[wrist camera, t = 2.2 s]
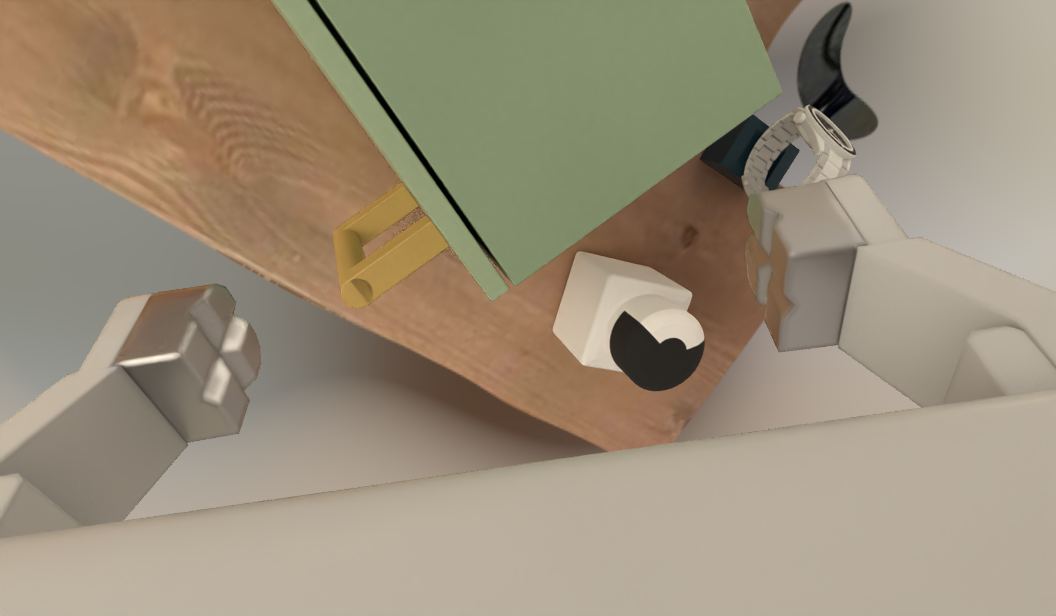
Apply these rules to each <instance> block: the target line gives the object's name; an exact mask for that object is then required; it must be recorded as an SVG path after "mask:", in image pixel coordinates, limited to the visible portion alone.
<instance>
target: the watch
mask: <svg viewBox="0 0 1056 616" xmlns="http://www.w3.org/2000/svg"><path fill="white" fill-rule="evenodd" d="M799 135H800V136H801V137H802V138H803V139H804V141H805V142H806V143H807V144H808V145H809V146H810V148H812V150H813V152H814V154H815V155H816V156H819V158H818V160H817V162H816V165H815V166H814V167H813V169H812V170H811V172H810V173H809V177H806V178H805V179H804V181H803V182H802V183H801V184H800V185H804V184H810V183H816V182H820V181H821V180H826V179H831V178H836V177H841V176H845V175H846V174H847V173H848V172H849V169H850V166H851V159H854V158H855V157H856V152H855V149H854V148H853V146H852V145H851V143H850V142H849V140H848V139H847V138H846V136H845V135H844V134H843V133H842V132H841V131H840V129H839V128H838V127H837V126H836V125H835V124H834V123H833V122H832V121H831V120H830V119H829V118H827V117H826V116H825V115H824V114H823V113H821V112H820V111H819V110H818V109H816V108H814V107H813V106H810V105H807V106H806V107H805V108H804V109H803V108H799V107H798V108H796V109H795V110H794V111H793V112H791V113H788V114H786V115H785V116H783V117H782V118H781V119H779V120H777V121H776V122H775V123H774V124H772V125H771V128H770V127H769V126H767V125H766V124H765V123H763V122H762V121H761V120H759V119H758V118H757V117H756V116H754V115H753V114H752V115H751V116H750V117H748V118H747V119H746V120H744V121H743V122H741V123H740V124H739V125H737V126H736V127H735V128H733V129H732V130H730V131H729V132H728V133H726V134H725V135H724V136H722V137H721V138H719V139H718V140H717V141H715V142H714V143H713V144H711V145H710V146H708V147H707V148H706V150H705V152H704V153H703V155H702V156H701V158H700V159H701V160H702V161H704V162H705V163H707V164H708V165H709V166H711V167H712V168H714V169H715V170H717V171H718V172H719V173H721V174H722V175H724V176H725V177H727V178H728V179H730V180H731V181H732V182H734V183H735V184H737V185H738V186H740V187H741V188H742V189H744V190H745V192H746V194H747V196H748V198H749V197H750V194H753V193H759V192H765V191H770V190H775V189H776V188H777V186H778V184H779V183H780V181H781V180H782V178H783V176H784V175H785V173H786V172H787V170H788V169H789V167H790V165H791V164H792V162H793V161H794V159H795V157H796V156H797V154H798V153H799V149H797V148H796V147H795V146H793V145H792V144H791V142H793V141H794V140H796V139H797V138H798V137H799Z"/></svg>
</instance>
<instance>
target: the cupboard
mask: <svg viewBox="0 0 1056 616" xmlns="http://www.w3.org/2000/svg"><path fill="white" fill-rule="evenodd" d="M308 1H309V3H310V4H311V6H312V7H313V8H314V10H315V11H316V13H317V14H318V16H319V17H320V18H321V20H322V21H323V23H324V24H325V26H326V27H327V28H328V30H329V31H330V33H331V34H332V36H333V37H334V38H335V40H336V41H337V43H338V44H339V46H340V47H341V48H342V50H343V51H344V53H345V54H346V56H347V57H348V58H349V60H350V61H351V63H352V64H353V66H354V67H355V68H356V70H357V71H358V73H359V74H360V76H361V77H362V78H363V80H364V81H365V83H366V84H367V86H368V87H369V88H370V90H371V91H372V93H373V94H374V96H375V97H376V98H377V100H378V101H379V103H380V104H381V106H382V107H383V108H384V110H385V111H386V113H387V114H388V116H389V117H390V118H391V120H392V121H393V123H394V124H395V126H396V127H397V128H398V130H399V131H400V133H401V134H402V136H403V137H404V138H405V140H406V141H407V143H408V144H409V146H410V147H411V148H412V150H413V151H414V153H415V154H416V156H417V157H418V158H419V160H420V161H421V163H422V164H423V166H424V167H425V168H426V170H427V171H428V173H429V174H430V176H431V177H432V178H433V180H434V181H435V183H436V184H437V186H438V187H439V188H440V190H441V191H442V193H443V194H444V196H445V197H446V198H447V200H448V201H449V203H450V204H451V206H452V207H453V208H454V210H455V211H456V213H457V214H458V216H459V217H460V218H461V220H462V221H463V223H464V224H465V226H466V227H467V228H468V230H469V231H470V233H471V234H472V236H473V237H474V238H475V240H476V241H477V243H478V244H479V246H480V247H481V248H482V250H483V251H484V252H485V254H486V255H487V256H488V257H489V258H490V259H491V260H492V261H493V262H494V263H495V265H496V266H497V267H498V268H499V269H500V270H501V271H502V272H503V273H504V274H505V276H506V277H507V278H508V279H509V280H510V281H511V282H512V283H513V284H514V285H515V286H517V285H518V284H520V283H521V282H522V281H524V280H525V279H527V278H528V277H529V276H531V275H532V274H533V273H535V272H536V271H538V270H539V269H540V268H542V267H543V266H544V265H546V264H547V263H549V262H550V261H551V260H553V259H554V258H555V257H557V256H558V255H560V254H561V253H562V252H564V251H565V250H566V249H568V248H569V247H571V246H572V245H573V244H575V243H576V242H578V241H579V240H580V239H582V238H583V237H584V236H586V235H587V234H589V233H590V232H591V231H593V230H594V229H595V228H597V227H598V226H600V225H601V224H602V223H604V222H605V221H606V220H608V219H609V218H611V217H612V216H613V215H615V214H616V213H617V212H619V211H620V210H622V209H623V208H624V207H626V206H627V205H628V204H630V203H631V202H633V201H634V200H635V199H637V198H638V197H640V196H641V195H642V194H644V193H645V192H646V191H648V190H649V189H651V188H652V187H653V186H655V185H656V184H657V183H659V182H660V181H662V180H663V179H664V178H666V177H667V176H668V175H670V174H671V173H673V172H674V171H675V170H677V169H678V168H679V167H681V166H682V165H684V164H685V163H686V162H688V161H689V160H690V159H692V158H693V157H695V156H696V155H697V154H699V153H700V152H702V151H703V150H704V149H706V148H707V147H708V146H710V145H711V144H713V143H714V142H715V141H717V140H718V139H719V138H721V137H722V136H724V135H725V134H726V133H728V132H729V131H730V130H732V129H733V128H735V127H736V126H737V125H739V124H740V123H741V122H743V121H744V120H746V119H747V118H748V117H750V116H751V115H752V114H754V113H755V112H757V111H758V110H759V109H761V108H762V107H763V106H765V105H766V104H768V103H769V102H770V101H772V100H773V99H775V98H776V97H777V96H779V95H780V94H781V93H782V92H783V91H782V88H781V86H780V84H779V81H778V79H777V76H776V74H775V71H774V69H773V66H772V64H771V61H770V59H769V57H768V54H767V52H766V49H765V47H764V44H763V42H762V39H761V37H760V35H759V32H758V30H757V27H756V25H755V22H754V20H753V17H752V15H751V12H750V10H749V8H748V5H747V3H746V0H308Z"/></svg>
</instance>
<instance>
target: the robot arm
mask: <svg viewBox="0 0 1056 616" xmlns="http://www.w3.org/2000/svg"><path fill="white" fill-rule="evenodd" d="M747 218H748V221H749V223H750V225H751V227H752V229H753V233H752V234H751V235H750V236H749V238H748V239H747V240H746V248H745V261H746V269H747V276H748V280H749V283H750V287H751V290H752V292H753V295H754V297H755V300H756V301H758V302H760V303H762V304H763V305H765V306H766V310H765V323H766V325H767V327H768V329H769V331H770V334H771V336H772V338H773V340H774V343H775V345H776V347H777V349H778V352H786V351H793V350H802V349H810V348H818V347H826V346H833V345H838V348H839V349H841V350H842V351H844V352H845V353H846V354H848V355H849V356H851V357H852V358H853V359H855V360H856V361H858V362H859V363H860V364H862V365H863V366H865V367H866V368H867V369H869V370H870V371H871V372H873V373H874V374H876V375H877V376H878V377H880V378H881V379H883V380H884V381H885V382H887V383H888V384H890V385H891V386H892V387H894V388H895V389H896V390H898V391H899V392H901V393H902V394H904V395H905V396H906V397H908V398H909V399H911V400H912V401H913V402H915V403H916V404H917V405H919V406H920V407H921V408H916V409H908V410H901V411H894V412H887V413H880V414H873V415H866V416H859V417H852V418H845V419H839V420H831V421H824V422H817V423H811V424H804V425H797V426H789V427H782V428H775V429H768V430H762V431H755V432H748V433H741V434H734V435H726V436H719V437H712V438H705V439H699V440H691V441H684V442H677V443H669V444H662V445H655V446H648V447H641V448H634V449H627V450H619V451H612V452H605V453H598V454H592V455H585V456H577V457H569V458H562V459H556V460H548V461H541V462H534V463H527V464H520V465H513V466H506V467H499V468H492V469H485V470H477V471H471V472H463V473H457V474H449V475H442V476H436V477H428V478H421V479H415V480H408V481H401V482H394V483H386V484H379V485H372V486H366V487H359V488H351V489H345V490H337V491H331V492H323V493H316V494H309V495H302V496H295V497H288V498H281V499H274V500H267V501H259V502H253V503H245V504H238V505H231V506H224V507H217V508H211V509H203V510H196V511H190V512H182V513H175V514H168V515H161V516H154V517H147V518H140V519H133V520H126V521H123V520H124V519H125V518H126V517H127V516H128V514H129V513H130V512H131V511H132V510H133V509H134V508H135V506H136V505H137V504H138V503H139V502H140V501H141V499H142V498H143V497H144V496H145V495H146V494H147V492H148V491H149V490H150V489H151V488H152V487H153V485H154V484H155V483H156V482H157V481H158V480H159V478H160V477H161V476H162V475H163V474H164V473H165V471H166V470H167V469H168V468H169V467H170V466H171V465H172V463H173V462H174V461H175V460H176V459H177V458H178V456H179V455H180V454H181V453H182V452H183V451H184V449H185V448H186V447H187V446H188V444H187V443H188V442H194V441H199V440H205V439H210V438H216V437H222V436H228V435H233V434H239V432H240V429H241V426H242V423H243V419H244V416H245V413H246V410H247V407H248V404H249V401H250V400H249V398H248V396H247V395H246V393H245V391H244V390H245V389H246V388H247V387H248V386H249V385H250V384H251V383H252V382H253V381H255V380H256V378H257V376H258V372H259V369H260V365H261V354H260V345H259V342H258V339H257V336H256V333H255V331H254V330H253V328H252V326H251V325H250V323H249V322H247V321H245V320H244V319H242V318H240V317H238V316H236V315H235V314H233V313H234V309H235V305H236V301H235V299H234V298H233V297H232V295H231V294H230V292H229V291H228V289H227V288H226V287H225V286H222V285H219V284H210V285H204V286H197V287H190V288H183V289H176V290H170V291H163V292H158V293H150V294H144V295H138V296H132V297H128V298H126V299H124V300H122V301H120V302H119V303H118V305H117V306H116V308H115V310H114V311H113V313H112V315H111V317H110V318H109V320H108V322H107V323H106V325H105V327H104V329H103V330H102V332H101V334H100V335H99V337H98V339H97V340H96V342H95V344H94V346H93V347H92V349H91V351H90V352H89V354H88V356H87V358H86V359H85V361H84V363H83V365H82V366H81V368H80V369H79V371H78V372H77V373H71V374H68V375H66V376H65V377H64V378H62V379H61V380H60V381H58V382H57V383H56V384H54V385H53V386H52V387H51V388H49V389H48V390H46V391H45V392H44V393H42V394H41V395H40V396H38V397H37V398H36V399H34V400H33V401H32V402H30V403H29V404H28V405H26V406H25V407H24V408H23V409H21V410H20V411H18V412H17V413H16V414H15V415H13V416H12V417H11V418H9V419H8V420H7V421H5V422H4V423H3V424H1V425H0V616H1056V292H1055V291H1052V290H1050V289H1047V288H1045V287H1043V286H1040V285H1038V284H1035V283H1033V282H1030V281H1028V280H1025V279H1023V278H1020V277H1018V276H1016V275H1013V274H1011V273H1008V272H1006V271H1003V270H1001V269H998V268H996V267H993V266H991V265H988V264H986V263H983V262H981V261H979V260H976V259H974V258H971V257H969V256H966V255H964V254H961V253H959V252H956V251H954V250H951V249H949V248H946V247H944V246H941V245H939V244H936V243H934V242H932V241H929V240H927V239H924V238H922V237H917V238H909V237H908V236H907V235H906V233H905V232H904V231H903V229H902V228H901V227H900V226H899V224H898V223H897V222H896V220H895V219H894V218H893V217H892V215H891V214H890V213H889V211H888V210H887V209H886V208H885V206H884V205H883V203H882V202H881V201H880V200H879V198H878V197H877V196H876V194H875V193H874V192H873V191H872V189H871V188H870V187H869V185H868V184H867V183H866V181H865V180H864V179H863V178H862V176H860V175H857V174H851V175H846V176H841V177H836V178H831V179H826V180H821V181H820V182H816V183H810V184H804V185H799V186H793V187H787V188H782V189H776V190H770V191H765V192H759V193H753V194H750V197H749V201H748V209H747Z"/></svg>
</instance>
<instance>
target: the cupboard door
mask: <svg viewBox="0 0 1056 616" xmlns="http://www.w3.org/2000/svg"><path fill="white" fill-rule="evenodd" d="M270 1H271V2H272V4H273V5H274V6H275V8H276V9H277V11H278V12H279V13H280V15H281V16H282V17H283V19H284V20H285V22H286V23H287V24H288V26H289V27H290V28H291V30H292V31H293V33H294V34H295V35H296V37H297V38H298V40H299V41H300V42H301V44H302V45H303V46H304V48H305V49H306V51H307V52H308V53H309V55H310V56H311V57H312V59H313V60H314V62H315V63H316V64H317V66H318V67H319V68H320V70H321V71H322V73H323V74H324V75H325V77H326V78H327V79H328V81H329V82H330V84H331V85H332V86H333V88H334V89H335V91H336V92H337V93H338V95H339V96H340V97H341V99H342V100H343V102H344V103H345V104H346V106H347V107H348V108H349V110H350V111H351V113H352V114H353V115H354V117H355V118H356V119H357V121H358V122H359V124H360V125H361V126H362V128H363V129H364V130H365V132H366V133H367V135H368V136H369V137H370V139H371V140H372V142H373V143H374V144H375V146H376V147H377V148H378V150H379V151H380V153H381V154H382V155H383V157H384V158H385V159H386V161H387V162H388V164H389V165H390V166H391V168H392V169H393V170H394V172H395V173H396V175H397V176H398V177H399V179H400V180H401V181H402V182H401V183H399V184H398V185H396V186H395V187H394V188H392V189H391V190H389V191H388V192H387V193H385V194H384V195H382V196H381V197H380V198H378V199H377V200H375V201H374V202H372V203H371V204H370V205H368V206H367V207H365V208H364V209H363V210H361V211H360V212H358V213H357V214H356V215H354V216H353V217H351V218H350V219H349V220H347V221H346V222H344V223H343V224H342V225H340V226H339V227H337V228H336V229H335V231H334V233H333V241H334V248H335V255H336V263H337V270H338V277H339V285H340V292H341V297H342V300H343V301H344V303H345V304H346V305H348V306H349V307H352V308H363V307H365V306H367V305H369V304H370V303H371V302H373V301H374V300H375V299H377V298H378V297H380V296H381V295H382V294H384V293H385V292H386V291H388V290H389V289H391V288H392V287H393V286H395V285H396V284H398V283H399V282H400V281H402V280H403V279H405V278H406V277H407V276H409V275H410V274H412V273H413V272H414V271H416V270H417V269H418V268H420V267H421V266H423V265H424V264H425V263H427V262H428V261H430V260H431V259H432V258H434V257H435V256H437V255H438V254H439V253H441V252H442V251H444V250H445V249H446V248H448V247H449V246H450V247H451V249H452V250H453V251H454V253H455V254H456V255H457V257H458V258H459V259H460V261H461V262H462V263H463V265H464V266H465V267H466V269H467V270H468V271H469V273H470V274H471V275H472V277H473V278H474V279H475V281H476V282H477V283H478V285H479V286H480V287H481V289H482V290H483V291H484V293H485V294H486V295H487V297H488V298H489V299H490V301H492V302H493V301H494V300H496V299H497V298H498V297H500V296H501V295H502V294H504V293H505V292H507V291H508V290H509V287H508V286H507V284H506V283H505V281H504V280H503V278H502V277H501V276H500V274H499V273H498V271H497V270H496V268H495V267H494V266H493V264H492V263H491V261H490V260H489V258H488V257H487V256H486V254H485V253H484V251H483V250H482V248H481V247H480V246H479V244H478V243H477V241H476V240H475V238H474V237H473V236H472V234H471V233H470V231H469V230H468V228H467V227H466V226H465V224H464V223H463V221H462V220H461V218H460V217H459V216H458V214H457V213H456V211H455V210H454V208H453V207H452V206H451V204H450V203H449V201H448V200H447V198H446V197H445V196H444V194H443V193H442V191H441V190H440V188H439V187H438V186H437V184H436V183H435V181H434V180H433V178H432V177H431V176H430V174H429V173H428V171H427V170H426V168H425V167H424V166H423V164H422V163H421V161H420V160H419V158H418V157H417V156H416V154H415V153H414V151H413V150H412V148H411V147H410V146H409V144H408V143H407V141H406V140H405V138H404V137H403V136H402V134H401V133H400V131H399V130H398V128H397V127H396V126H395V124H394V123H393V121H392V120H391V118H390V117H389V116H388V114H387V113H386V111H385V110H384V108H383V107H382V106H381V104H380V103H379V101H378V100H377V98H376V97H375V96H374V94H373V93H372V91H371V90H370V88H369V87H368V86H367V84H366V83H365V81H364V80H363V78H362V77H361V76H360V74H359V73H358V71H357V70H356V68H355V67H354V66H353V64H352V63H351V61H350V60H349V58H348V57H347V56H346V54H345V53H344V51H343V50H342V48H341V47H340V46H339V44H338V43H337V41H336V40H335V38H334V37H333V36H332V34H331V33H330V31H329V30H328V28H327V27H326V26H325V24H324V23H323V21H322V20H321V18H320V17H319V16H318V14H317V13H316V11H315V10H314V8H313V7H312V6H311V4H310V3H309V1H308V0H270ZM419 206H420V208H421V209H422V210H423V212H424V213H425V214H426V215H425V216H424V217H422V218H421V219H420V220H418V221H417V222H415V223H414V224H413V225H411V226H410V227H408V228H407V229H406V230H404V231H403V232H401V233H400V234H399V235H397V236H396V237H394V238H393V239H392V240H390V241H389V242H387V243H386V244H385V245H383V246H382V247H380V248H379V249H378V250H376V251H375V252H373V253H372V254H371V255H369V256H368V257H366V258H365V256H364V252H363V249H362V247H363V246H364V245H366V244H367V243H368V242H370V241H371V240H373V239H374V238H375V237H377V236H378V235H380V234H381V233H382V232H384V231H385V230H387V229H388V228H389V227H391V226H392V225H394V224H395V223H396V222H398V221H399V220H401V219H402V218H403V217H405V216H406V215H408V214H409V213H410V212H412V211H413V210H415V209H416V208H417V207H419Z"/></svg>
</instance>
